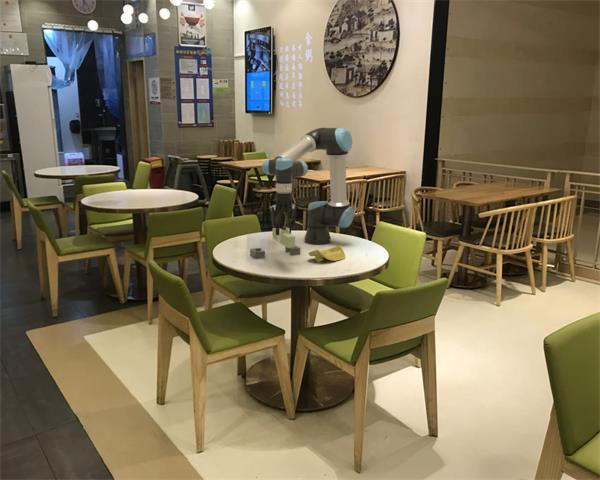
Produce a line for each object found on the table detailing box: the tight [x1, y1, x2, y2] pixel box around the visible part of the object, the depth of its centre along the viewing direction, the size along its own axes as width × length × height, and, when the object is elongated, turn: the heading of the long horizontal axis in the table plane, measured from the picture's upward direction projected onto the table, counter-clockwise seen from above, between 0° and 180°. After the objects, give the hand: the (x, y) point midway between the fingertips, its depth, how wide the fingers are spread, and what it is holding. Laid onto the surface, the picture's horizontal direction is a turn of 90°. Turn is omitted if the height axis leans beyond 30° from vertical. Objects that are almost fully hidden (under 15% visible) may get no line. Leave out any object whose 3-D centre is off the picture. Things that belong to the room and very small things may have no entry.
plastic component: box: [307, 245, 346, 263], centre depth 259 cm, size 20×7×10 cm
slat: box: [272, 227, 296, 248], centre depth 243 cm, size 20×4×5 cm, turn 23°
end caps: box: [249, 244, 301, 260], centre depth 267 cm, size 25×7×4 cm, turn 113°
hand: (283, 241), depth 244 cm, fingers closed on slat, 3 cm apart
